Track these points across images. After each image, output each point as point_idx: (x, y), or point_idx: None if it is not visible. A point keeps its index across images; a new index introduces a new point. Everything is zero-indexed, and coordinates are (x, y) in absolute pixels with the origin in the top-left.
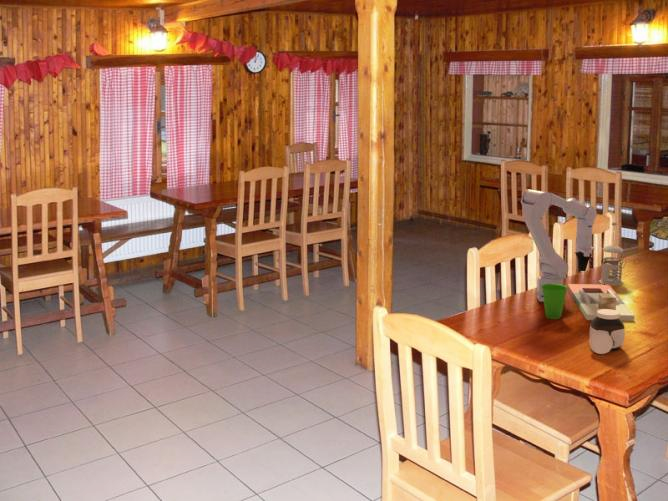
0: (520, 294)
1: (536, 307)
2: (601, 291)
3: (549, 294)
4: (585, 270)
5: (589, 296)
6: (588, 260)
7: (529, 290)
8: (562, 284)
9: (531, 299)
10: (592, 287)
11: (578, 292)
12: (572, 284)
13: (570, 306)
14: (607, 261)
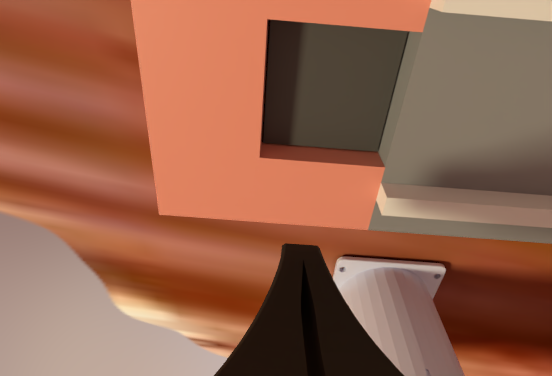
0: None
1: (481, 356)
2: (319, 21)
3: None
4: (318, 250)
5: (481, 163)
6: (376, 346)
7: (219, 336)
8: (442, 345)
9: None
10: (240, 79)
11: (369, 202)
12: (166, 190)
13: (519, 253)
14: None
